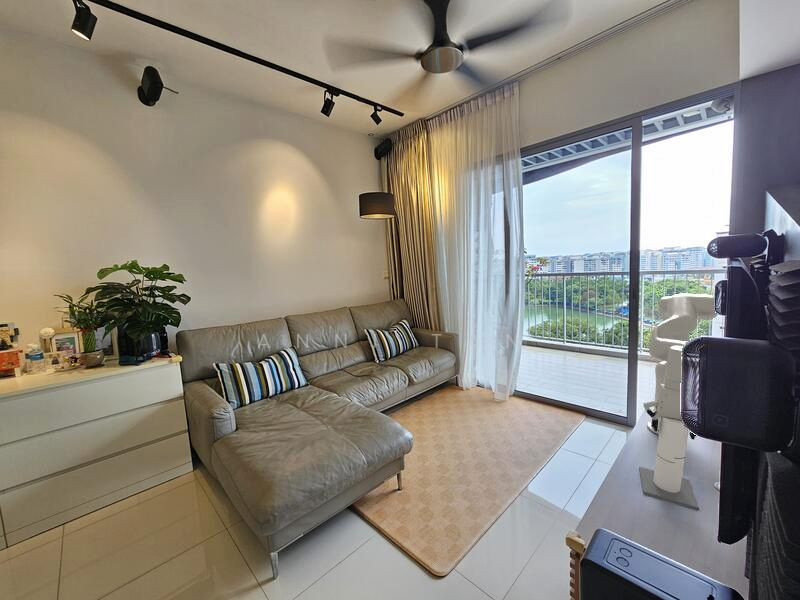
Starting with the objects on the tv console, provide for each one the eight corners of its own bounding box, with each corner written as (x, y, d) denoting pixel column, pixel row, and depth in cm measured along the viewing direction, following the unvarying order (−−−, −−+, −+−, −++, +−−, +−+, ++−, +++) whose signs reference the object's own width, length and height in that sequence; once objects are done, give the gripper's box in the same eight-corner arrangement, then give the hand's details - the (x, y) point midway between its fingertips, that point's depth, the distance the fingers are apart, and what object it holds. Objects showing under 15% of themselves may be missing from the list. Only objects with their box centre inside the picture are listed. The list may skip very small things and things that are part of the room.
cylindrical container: (685, 493, 108) (695, 424, 103) (660, 491, 109) (669, 422, 104) (672, 478, 114) (681, 412, 110) (649, 476, 116) (656, 411, 111)
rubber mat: (639, 468, 121) (639, 466, 121) (688, 481, 114) (688, 479, 114) (643, 493, 109) (643, 491, 109) (698, 509, 102) (699, 507, 102)
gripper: (711, 385, 104) (704, 434, 107) (644, 375, 113) (639, 421, 116) (719, 395, 98) (711, 447, 101) (647, 383, 107) (641, 431, 110)
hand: (673, 433), depth 108 cm, fingers open, 9 cm apart
